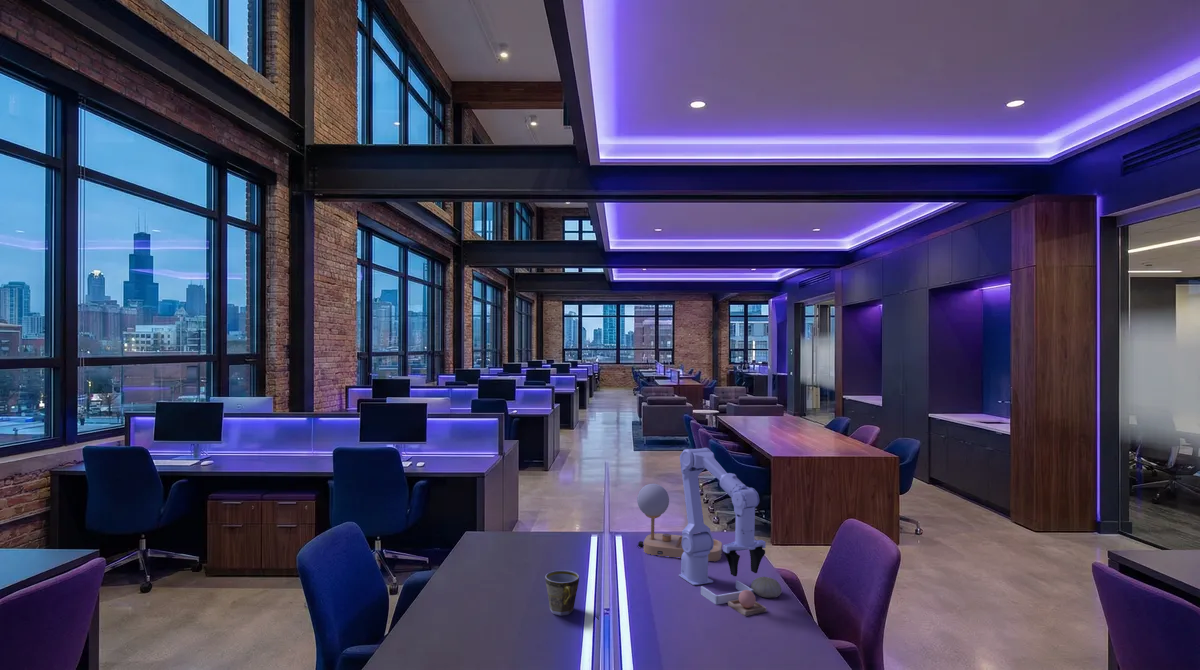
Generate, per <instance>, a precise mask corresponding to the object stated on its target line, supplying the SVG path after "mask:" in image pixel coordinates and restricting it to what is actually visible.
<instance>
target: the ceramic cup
mask: <svg viewBox="0 0 1200 670" xmlns="http://www.w3.org/2000/svg"><path fill="white" fill-rule="evenodd" d="M544 577H545V585H546V586H545V587H546V591H547V597H548V606H549V610H550V611H551V613H552V614H553V615H555V616H568V615H570V614H571V613H573V611H574V607H575V602H576V598H577V593H578V589H579V582H580V575H579V573H577V572H576V571H572V570H567V569H565V570H564V569H559V570H553V571H549V572H548V573H546V574H545V576H544Z"/></svg>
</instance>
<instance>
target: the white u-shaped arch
mask: <svg viewBox="0 0 1200 670" xmlns="http://www.w3.org/2000/svg"><path fill="white" fill-rule="evenodd" d="M735 589H736V590H737V591H734V592H728V593H727V592H726V593H723V594H715V593H714V592H712V591H711V590H710V589H708V588H706V587H705V586H703V585H702V586H700V595H701V596H702V597H704V598H705V599H707V600H708V601H710V602H711V603H713V604H715V605H723V604H726V603H727V604H728V601H733V600H738V599H739V594H740V593H741V592H742V591H743V590H749V591H751V592H753V594H754V595H755V593H754V590H753V589H752V588H751V586H750V587H749V586H748V585H746V584H744V583H743V582H741V581H739V580H738V579H737V580H735Z"/></svg>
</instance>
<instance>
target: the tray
mask: <svg viewBox="0 0 1200 670" xmlns="http://www.w3.org/2000/svg"><path fill="white" fill-rule="evenodd" d="M727 607H730V608H732V609H733V610H735V611H736V612H737V613H739V614H741V615H742V616H744V617H748V616H752V615H757V614H762V613H763V614H764V613H767V607H766V606H765V605H763V604H761V603H760V602H757V601H756V602H755V604H754V606H753V607H751V608H745V607H743V606H742V605H741V604H740V602H739V599H738V600H733V601H728V603H727Z"/></svg>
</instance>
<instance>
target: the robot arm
mask: <svg viewBox="0 0 1200 670" xmlns="http://www.w3.org/2000/svg"><path fill="white" fill-rule="evenodd" d="M679 462H680V463H679V465H680V472H681V476H682V477H681V478H682V485H683V493H684V501H685V510H686V517H687V525H685V527H684V529H682V531H681V533H682V535H681V536H682V548H683V550H684V552H683V554H682V557H681V560H680V561H681V562H680V573H678V577H680V579H681V578H682V580H684V581H686V582H688V583H689V584H690V585H692V586H700V585H706V584H712V583H714V580H713V579H711V578H709V562H708V554H710V550H712V549H713V546H714V541H713V539H714V538H713V536H712V533H711V528H710V526H708V525H706V524H705V523H704V515H703V508H702V507H703V506H702V498H701V490H700V482H699V475H701V473H702V472H703V471H704V470H706V471H708V472H709V473H710V474H711V475H712V476H713V477H715V478H716V479H717V480H718V481H719V487H720V488H721V489H722V490H723V491H724V492H725V493H726V494H727V495H728V496H729V497H730V499H731V503H732V505H733V511H734V514H735V529H734V530H735V532H734V534H735V535H734V537H735V538H734V541H731V542H729V543H726V544H722V552H723V554H724V556H725V559H726V560H727V563H728V566H729V571H730V575H731V576H733V577H738V576H737V575H738V568H739V567H738V566H739V561H740V557H741V555H740V554H738V553H737V551H745V550H746V551H747V550H748V551H749V556H750V571H751V572H753V573H754V574H757V573H758V570H759V567H760V564H761V561H762V560H763V558H764V556H765V555H766V547H767V546H766V545H767V544H766V541H765V540H763V539H755V531H756V529H755V528H756V527H755V525H756V523H755V521H756V507H758V505H759V504H760V496H759V493H758V491H757V490H756V489H755V488H753V487H749V486H747V485H746V484H744V482H742V481H741V480H740V479H739V478H738V477H737V474H735V473H732V472H727V471H726V470H725V469H724V467H722V465H721V464H720V463H719V462H718V460H716V458H715V453H714V452H713V451H711V449H710V448H709V447H702V448H689V449H688V448H685V449H683V451H682V452H681V453H680V455H679Z"/></svg>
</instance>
